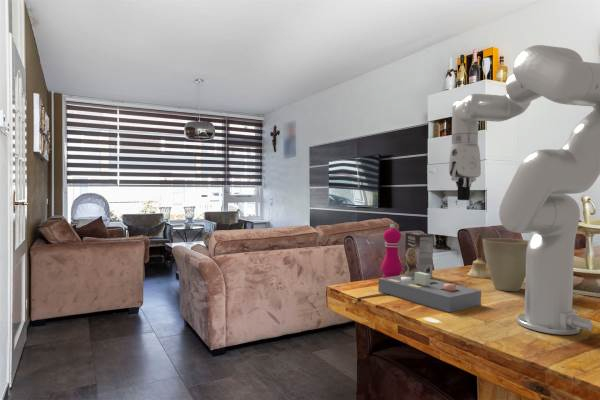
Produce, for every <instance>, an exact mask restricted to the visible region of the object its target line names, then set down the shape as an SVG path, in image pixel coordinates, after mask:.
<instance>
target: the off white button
mask: <svg viewBox="0 0 600 400" xmlns="http://www.w3.org/2000/svg"><path fill="white" fill-rule="evenodd" d="M401 280H404V281H411V280H412V278H410V277H401Z"/></svg>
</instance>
